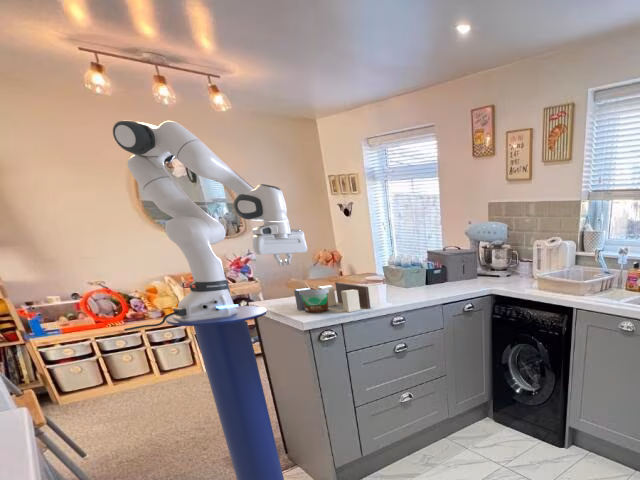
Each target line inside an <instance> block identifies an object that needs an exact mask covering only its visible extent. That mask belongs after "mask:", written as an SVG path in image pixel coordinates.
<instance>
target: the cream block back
mask: <svg viewBox="0 0 640 480" xmlns="http://www.w3.org/2000/svg"><path fill="white" fill-rule="evenodd" d="M326 288H327V289H328V290H329V293H328V307H332V306H336V305H337V298H336V293H335V285H334V286H333V285H323V286H317V288H316V289H318V290H322V289H326Z"/></svg>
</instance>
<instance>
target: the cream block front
mask: <svg viewBox="0 0 640 480" xmlns="http://www.w3.org/2000/svg"><path fill="white" fill-rule="evenodd" d="M341 294H342V301H343V303H342V309H343V311H344V312H347V313H350V312H351V313H352V312H356V311H357V312H358V311H361V307H360V303H359V295H358V290H353V289H352V290H345V291H341Z"/></svg>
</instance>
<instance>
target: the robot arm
mask: <svg viewBox="0 0 640 480" xmlns="http://www.w3.org/2000/svg"><path fill="white" fill-rule="evenodd" d="M112 136H113V138H114V141H115V142H116V144H117V145H118V146H119V147H120V148H121V149H123V150H124V151H125V152H128V153H130V154H133V155H131V156H130V157H129V158H128V160H127V164H126V165H127V168H128V170H129V172H130V174H131V175H132V177H133V178H134V179H135V181H136V182H137V184H138V185H139V186H140V188H141V189H142V190H143V192H145V194H146V195H147V196H148V197H149V199H150V200H151V201H152V203H154V204H155V206H156V207H157V208H158V209H159V210H160V211H161V212H162V213H164V214H166V215H168V216H169V217H171V219H169V220H167V222H166V223H165V226H164V228H165V229H164V230H165V233H166V237H167V238H168V239H169V240H170V241H171V242H172V243H174V244H175V245H176V246H177V247H178V248H179V250H180V251H181V252H182V254H183V256H184V258H185V259H186V261H187V264H188V266H189V269H190V273H191V276H192V279H193V281H192V282H185V283H184V287H186V289H187V288H188V289H189V290H190V292H188V293H187V294H186V295H185V296H184V297H183V298H181V300H180V301H179V302H178V305H177V307H176V308H175V307H174V308H173V309H172V310H173V312H170V313H168V314H166V315H165V316H164V317H163V318H162V321H160V322H159V323H158V322H157V323H153V324H142V325H138V326H131V327H127V328H123V330H124V332H127V331H132V330H137V329H141V328H149V327H159V326H161V325H163V324H164V323H165V322H166V318H167V317H169V316H171V315H174V314H175V315H174V316H173V319H174V320H177V321H182V322H189V321H198V320H206V319H214V318H222V317H230V316H232V315H233V314H236V313H238V311H237V309H236V307H238V306H239V304H235V303H234V301H233V298H232V296H231V291H230V284H229V282H228V279H226V275H225V271H224V267H223V263H222V260H221V259H220V258H219V257H217V256H216V254H215V253H214V251H213V249H212V247H211V246H212V245H216V244H219V243H220V242H222V241H224V239H225V238H226V235H227V234H226V233H227V232H226V229H225V226H224V225H223V224H222V223H221V222H220V221H219V220H217V219H216V218H214V217H213V216H212V215H209V214H208V213H207V212H206V211H205V210H204V209H203V208H201V207H200V206H199V205H198V204H197V203H196V202H195V201H193V199H192V198H190V197H189V196H188V194H187V193H186V192H185V191H184V190H183V188H182V187H181V186H180V184H178V182H177V181H176V180H175V178H174V177H173V176H172V175H171V174H170V173H169V171H168V170H167V169H166V167H165V165H169V164H171V163H172V161H173V159H174V158H175V159H176V160H177V161H179V163H181V164H182V165H183V166H184V167H185V168H187V169H188V170H189V171H190V172H192V173H193V174H195V175H197V176H199V177H202V178H204V179H208V180H211V181H214V182H217V183H219V184H222V185H224V186H226V187H227V188H229V190H231V191H232V192H233V193H235V194H236V196H235V198H234V200H233V208H234V211H235V212H236V214H237V215H238V216H239V218H242V219H243V220H247V221H260V222H263V224H261V225H259V226H256V227H253V228H252V229H251V232H252V234H253V236H252V249H253V252H254V254H256V255H258V256H264V255H265V256H266V255H273V258H274V259H275V260H276V261H277V265H278V267H279V266H291V264H292V263H291V260H292V257H293V254H301V253H303V254H304V253H307V252H308V245H307V242H306V237H305V232H303V230H301V229H300V228H296V229H294V228H291V226H290V220H289V218H288V215H287V211H288V210H287V204H286V199H285V196H284V194H283V193H284V192H283V191H282V189H281V188H280V187H278V186H275V185H270V184H265V183H261V184H260V183H259V184H258V185H257V186H256V187H255V188H254V187H253V186H252V185H251V184H249V182H247V181H246V180H245V179H244V178H242V177H241V175H239V174H238V173H237V172H235V171H234V170H233V169H232V168H231V167H230V166H229V165H228V164H227V163H225V162H224V161H223V160H222V159H221V158H220V157H219V156H218V155H217V154H215V153H214V151H212V150H211V149H210V148H209V147H208V145H206V144H205V143H204V142H203V141H202V140H201V139H199V137H197V135H195V134H194V133H193V132H192V131H190V130H189V129H187V128H186V127H185V126H184V125H182V124H180V123H179V122H176V121H173V120H166V121H164V122H162V123H160V124H159V125H158V126H157V125H154V124H151V123H147V122H141V121H140V122H139V121H134V120H130V119H129V120H128V119H127V120H126V119H125V120H120V121H117V122H115V124H114V125H113V127H112ZM281 254H282V255H284V254H285V256H286V259H285V260H282V259H281V258H280V256H281Z"/></svg>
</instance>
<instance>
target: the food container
mask: <svg viewBox="0 0 640 480" xmlns="http://www.w3.org/2000/svg"><path fill="white" fill-rule="evenodd" d="M299 289H300V291H299V294H301V296H302V299H303V303H304V306H305V310H304V311H305V312H307V313H311V314H312V313H314V314H317V313H324V312H327V311H329V306H328V293H329V290H328V289H327V288H326V289H322V290H318V288H316V289H315V288H314V289H311V290H301V289H302V288H299Z"/></svg>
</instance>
